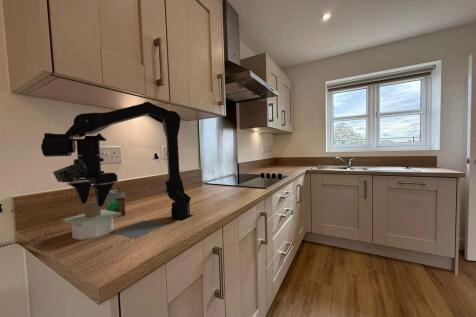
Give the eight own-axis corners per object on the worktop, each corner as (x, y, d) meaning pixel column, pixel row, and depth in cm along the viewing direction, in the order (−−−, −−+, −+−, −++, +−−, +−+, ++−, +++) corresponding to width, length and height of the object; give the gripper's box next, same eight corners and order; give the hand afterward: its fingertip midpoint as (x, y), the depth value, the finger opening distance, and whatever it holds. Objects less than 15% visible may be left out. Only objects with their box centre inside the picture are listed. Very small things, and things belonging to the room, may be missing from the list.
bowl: (101, 226, 70) (100, 212, 70) (119, 230, 65) (118, 215, 65) (67, 237, 61) (66, 221, 61) (85, 243, 57) (84, 225, 56)
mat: (143, 221, 73) (143, 220, 73) (167, 225, 68) (167, 224, 68) (110, 233, 63) (110, 232, 63) (135, 240, 57) (135, 238, 57)
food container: (101, 215, 84) (99, 191, 83) (118, 211, 88) (116, 189, 88) (108, 221, 75) (106, 195, 75) (126, 217, 79) (124, 192, 79)
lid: (101, 211, 70) (100, 197, 70) (121, 215, 65) (120, 199, 65) (63, 222, 61) (62, 205, 60) (82, 226, 56) (81, 208, 55)
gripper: (41, 157, 59) (44, 209, 60) (74, 155, 51) (77, 215, 51) (84, 155, 69) (86, 200, 70) (117, 154, 61) (120, 205, 61)
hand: (92, 204), depth 63 cm, fingers open, 9 cm apart
